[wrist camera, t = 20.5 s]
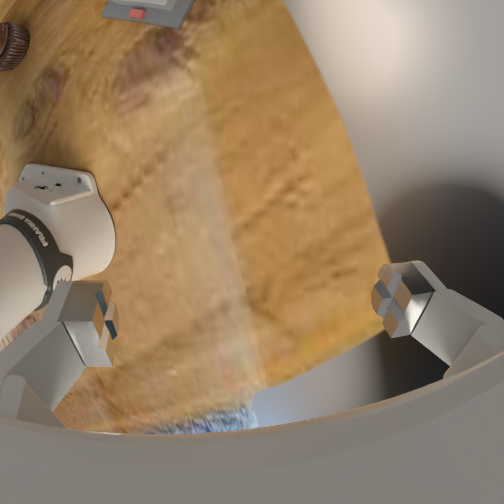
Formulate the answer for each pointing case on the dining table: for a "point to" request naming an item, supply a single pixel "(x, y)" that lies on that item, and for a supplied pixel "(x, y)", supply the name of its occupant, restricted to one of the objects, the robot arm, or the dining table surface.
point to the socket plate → (149, 11)
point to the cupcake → (12, 45)
